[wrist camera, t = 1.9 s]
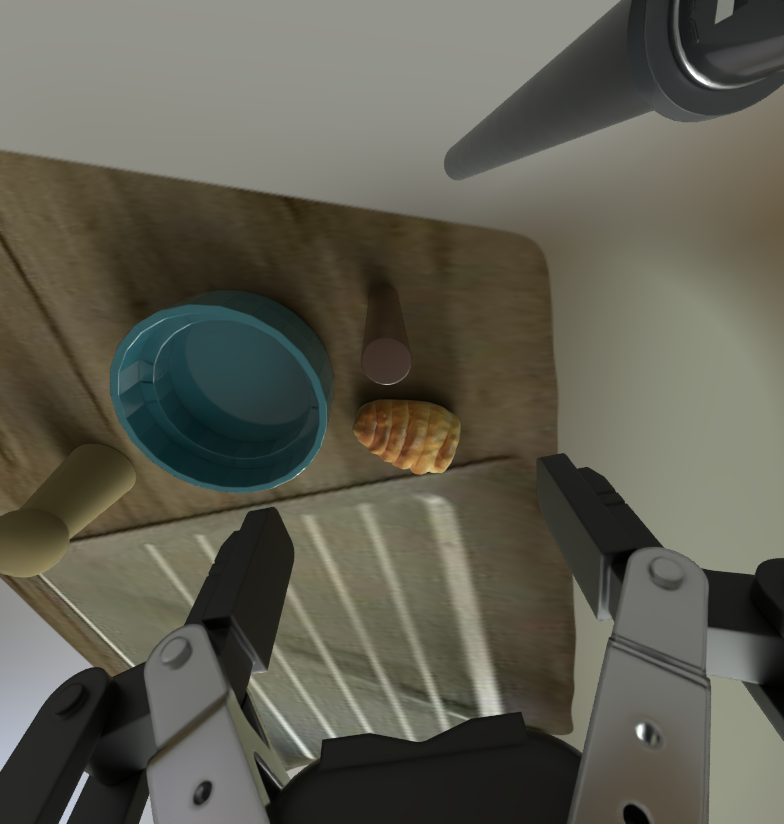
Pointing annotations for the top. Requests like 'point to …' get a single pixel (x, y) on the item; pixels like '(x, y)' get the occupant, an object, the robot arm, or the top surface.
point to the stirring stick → (385, 338)
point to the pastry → (409, 433)
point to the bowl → (224, 391)
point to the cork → (62, 508)
